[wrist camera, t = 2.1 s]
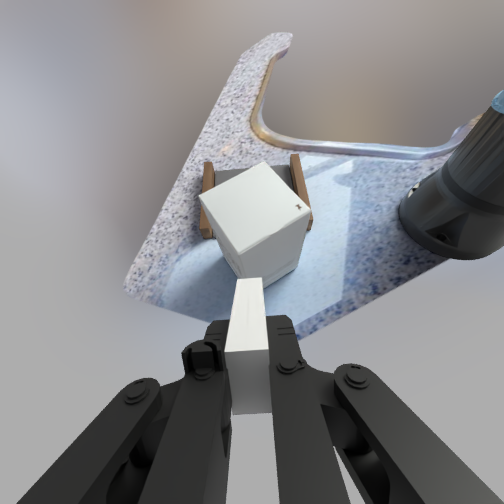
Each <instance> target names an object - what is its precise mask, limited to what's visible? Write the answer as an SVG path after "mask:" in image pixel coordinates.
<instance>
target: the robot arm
mask: <svg viewBox="0 0 504 504" xmlns="http://www.w3.org/2000/svg"><path fill="white" fill-rule="evenodd" d="M399 216H400V220H401V223H402V225H403V227H404V229H405V230H406V231H407V233H408V234H409V235H410V236H411V237H412V238H413V239H414V240H415V241H416V242H417V243H419V244H420V245H421V246H423V247H424V248H426V249H428V250H430V251H432V252H434V253H436V254H438V255H441V256H444V257H448V258H452V259H458V260H475V259H480V258H483V257H486V256H488V255H490V254H492V253H493V252H495V251H497V250H498V249H500V248H501V247H503V246H504V90H502V91H501V92H500V93H498V94H497V95H496V96H495V98H494V99H493V101H492V104H491V106H490V107H489V109H488V110H487V111H486V112H485V114H484V115H483V116H482V118H481V119H480V120H479V121H478V123H477V124H476V125H475V126H474V128H473V129H472V130H471V131H470V133H469V134H468V135H467V136H466V138H465V139H464V140H463V141H462V143H461V144H460V145H459V146H458V148H457V149H456V150H455V151H454V152H453V154H452V155H451V156H450V158H449V159H448V160H447V161H446V163H445V164H444V165H443V166H442V167H441V168H439V169H438V170H436V171H435V172H434V173H432V174H431V175H429V176H428V177H426V178H425V179H423V180H422V181H421V182H419V183H417V184H416V185H415V186H413V187H412V188H411V189H410V190H409V192H408V193H407V194H406V196H405V197H404V198H403V200H402V202H401V204H400V207H399ZM181 354H182V359H183V364H184V370H185V376H184V378H182V379H180V380H178V381H176V382H174V383H170V384H167V385H164V386H160V384H159V383H158V381H157V380H155V379H153V378H143V379H139V380H136V381H134V382H132V383H130V384H129V385H127V386H126V387H125V388H123V389H122V390H121V391H120V392H119V393H118V394H117V395H116V396H115V398H113V400H112V401H111V402H110V403H109V404H108V405H107V406H106V407H105V409H103V411H101V413H100V414H99V415H98V416H97V417H96V418H95V419H94V420H93V421H92V422H91V423H90V424H89V426H88V427H87V428H86V429H85V430H84V431H83V432H82V433H81V434H80V435H79V436H78V437H77V439H76V440H75V441H74V442H73V443H72V444H71V445H70V446H69V447H68V448H67V449H66V450H65V452H64V453H63V454H62V455H61V456H60V457H59V458H58V459H57V460H56V461H55V462H54V463H53V465H52V466H51V467H50V468H49V469H48V470H47V471H46V472H45V473H44V474H43V475H42V477H40V479H39V480H38V481H37V482H36V483H35V484H34V485H33V486H32V487H31V488H30V489H29V490H28V492H27V493H26V494H25V495H24V496H23V497H22V498H21V499H20V500H19V501H18V502H17V504H226V493H227V481H228V470H229V458H230V447H231V435H232V427H231V419H230V417H231V408H232V413H233V415H240V414H257V413H272V415H273V427H274V440H275V452H276V464H277V477H278V489H279V501H280V504H351V503H350V500H349V497H348V494H347V490H346V487H345V484H344V480H343V478H342V474H341V471H340V467H339V464H338V461H337V458H336V454H335V451H334V448H333V446H335V448H336V451H337V453H338V454H339V456H340V458H341V460H342V462H343V463H344V465H345V467H346V469H347V471H348V472H349V474H350V476H351V478H352V480H353V482H354V483H355V485H356V487H357V489H358V491H359V493H360V494H361V496H362V498H363V500H364V502H365V504H504V503H503V502H502V500H501V499H499V497H498V496H497V495H495V493H494V492H493V491H492V490H490V488H488V487H487V485H486V484H485V483H484V482H483V481H482V480H481V479H479V477H477V475H476V474H475V473H474V472H473V471H472V470H471V469H470V468H468V466H467V465H466V464H465V463H464V462H463V461H462V460H461V459H460V458H459V457H457V455H456V454H455V453H454V452H453V451H452V450H451V449H450V448H449V447H448V446H447V445H446V444H445V443H444V442H443V441H442V440H441V439H440V438H439V437H438V436H437V435H436V434H435V433H434V432H433V431H432V430H431V429H430V428H429V427H428V426H427V425H426V424H425V423H424V422H423V421H422V420H421V419H420V418H419V417H418V416H417V415H416V414H415V413H414V412H413V411H412V410H411V409H410V408H409V407H408V406H407V405H406V404H405V403H404V402H403V401H402V400H401V399H400V398H399V397H397V395H396V394H395V393H394V392H393V391H392V390H391V389H390V388H389V387H388V386H387V385H386V384H385V383H384V382H383V381H382V380H381V379H380V378H379V377H378V376H377V375H376V374H375V373H373V372H372V371H371V370H369V369H368V368H366V367H363V366H361V365H357V364H343V365H341V366H339V367H338V368H337V369H336V370H335V372H334V374H333V373H328V372H323V371H319V370H316V369H314V368H312V367H311V366H309V365H308V364H307V362H306V361H305V360H304V359H303V357H302V354H301V351H300V348H299V344H298V341H297V337H296V334H295V330H294V327H293V323H292V320H291V319H290V318H288V317H287V316H286V315H277V316H265V306H264V295H263V285H262V277H260V278H247V279H237V284H236V289H235V295H234V301H233V306H232V312H231V318H230V320H217V321H213V322H212V323H211V324H210V325H209V326H208V327H207V330H206V334H205V337H204V339H203V340H198V341H196V342H193V343H191V344H190V345H188V346H187V347H185V349H184V350H183V352H182V353H181Z"/></svg>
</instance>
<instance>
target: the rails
mask: <svg viewBox="0 0 504 504" xmlns="http://www.w3.org/2000/svg"><path fill="white" fill-rule="evenodd" d="M290 172H291V177H292V182H293V188H294V193H295V194H296V195H297V196H298V197H299V198H300V199H301V200H302V201H303V202H304V203H305V204H306V205H307V206H308V207H309V208H310V209H311V207H310V203H309V198H308V194H307V189H306V185H305V181H304V176H303V172H302V167H301V163H300V158H299V154H291V157H290ZM214 185H215V172H214V168H213V164H212V162H204V173H203V186H202V193H204V192H206V191H208V190H210V189H212V188H214ZM312 223H313V216H312V212H311V215H310V219H309V223H308V227H307V230H311V226H312ZM199 229H200V231H201V234H202V236H203V238H204V239H208V238H212V236H213V230H212V227H211V225H210V223H209V220H208V218H207V216H206V214H205V211H204V209H203V206H202V204H201V214H200V227H199ZM307 230H306V231H307Z"/></svg>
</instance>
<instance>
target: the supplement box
mask: <svg viewBox="0 0 504 504" xmlns="http://www.w3.org/2000/svg"><path fill="white" fill-rule="evenodd" d="M198 197H199V199H200V202H201V204H202V206H203V209H204V211H205V214H206V216H207V218H208V220H209V223H210V225H211V227H212V230H213V232H214V234H215V237H216V239H217V242H218V244H219V246H220V249H221V251H222V253H223V256H224V257H225V259H226V260H227V262H228V263H229V265H230V267H231V268H232V270H233V271H234V273H235V274H236V276H237V277H238V279H247V278H260V277H262V285H263V289H264V288H266V287H267V286H269V285H270V284H272V283H273V282H275V281H276V280H278V279H280V278H281V277H283V276H284V275H286V274H287V273H289V272H290V271H292V270H293V269H295V268H296V267H297V266H298V262H299V258H300V254H301V250H302V246H303V242H304V238H305V234H306V230H307V227H308V223H309V219H310V215H311V211H312V210H311V209H310V208H309V207H308V206H307V205H306V204H305V203H304V202H303V201H302V200H301V199H300V198H299V197H298V196H297V195H296V194H295V193H294V192H293V191H292V190H291V189H290V188H289V187H288V186H287V185H286V184H285V183H284V181H283V180H282V179H281V178H280V177H279V176H278V175H277V174H276V173H275V172H274V171H273V170H272V168H271V167H270V166H269V165H268V164H267V163H266V162H265V161H263V162H261V163H259V164H258V165H256V166H254V167H252V168H250V169H248V170H246V171H244V172H242V173H241V174H239V175H237V176H235V177H233V178H231V179H229V180H227V181H225V182H224V183H222V184H220V185H218V186H216V187H214V188H212V189H210V190H208V191H206V192H204V193H202V194H200V195H199V196H198Z"/></svg>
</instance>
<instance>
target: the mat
mask: <svg viewBox="0 0 504 504" xmlns="http://www.w3.org/2000/svg"><path fill="white" fill-rule="evenodd" d="M270 167H271V168H272V170H273V171H274V172H275V173H276V174H277V175H278V176H279V177H280V178H281V179H282V180H283V181H284V183H285V184H286V185H287V186H288V187H289V188H290V189H291V190H292V191H293V186H292V180H291V175H290V170H289V165H279V166H270ZM248 169H250V168H245V169H234V170H223V171H216V173H215V187H216V186H218V185H220V184H222V183H224V182H225V181H227V180H229V179H231V178H233V177H235V176H237V175H239V174H241V173H242V172H244V171H246V170H248ZM293 192H294V191H293ZM213 237H214V238H216V237H215V234H214V232H213Z"/></svg>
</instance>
